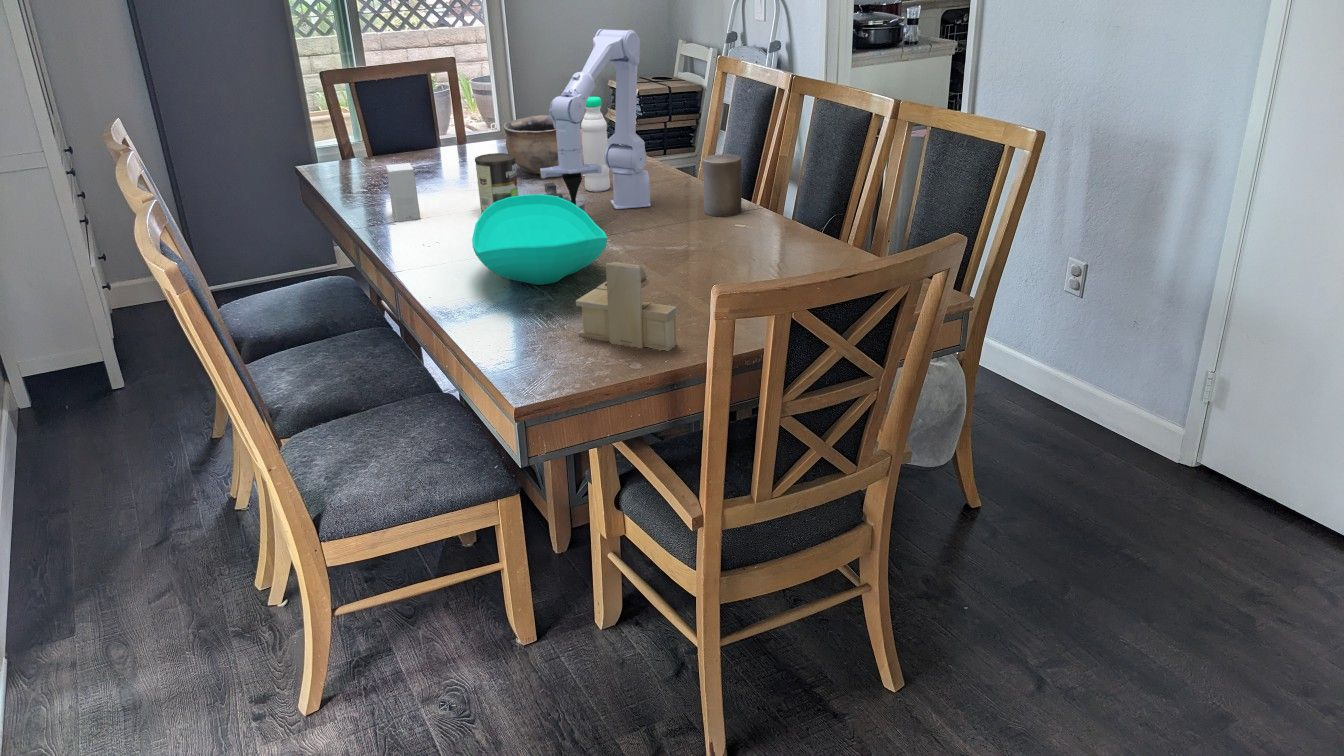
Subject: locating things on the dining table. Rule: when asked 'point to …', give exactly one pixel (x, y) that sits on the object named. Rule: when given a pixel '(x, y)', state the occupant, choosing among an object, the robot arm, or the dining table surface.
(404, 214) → the small box
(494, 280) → the dining table surface
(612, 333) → the toy kitchen set
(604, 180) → the water bottle
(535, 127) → the ceramic bowl
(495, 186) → the coffee can
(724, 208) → the pillar candle
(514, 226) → the table top decor
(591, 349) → the dining table surface
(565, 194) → the lid
